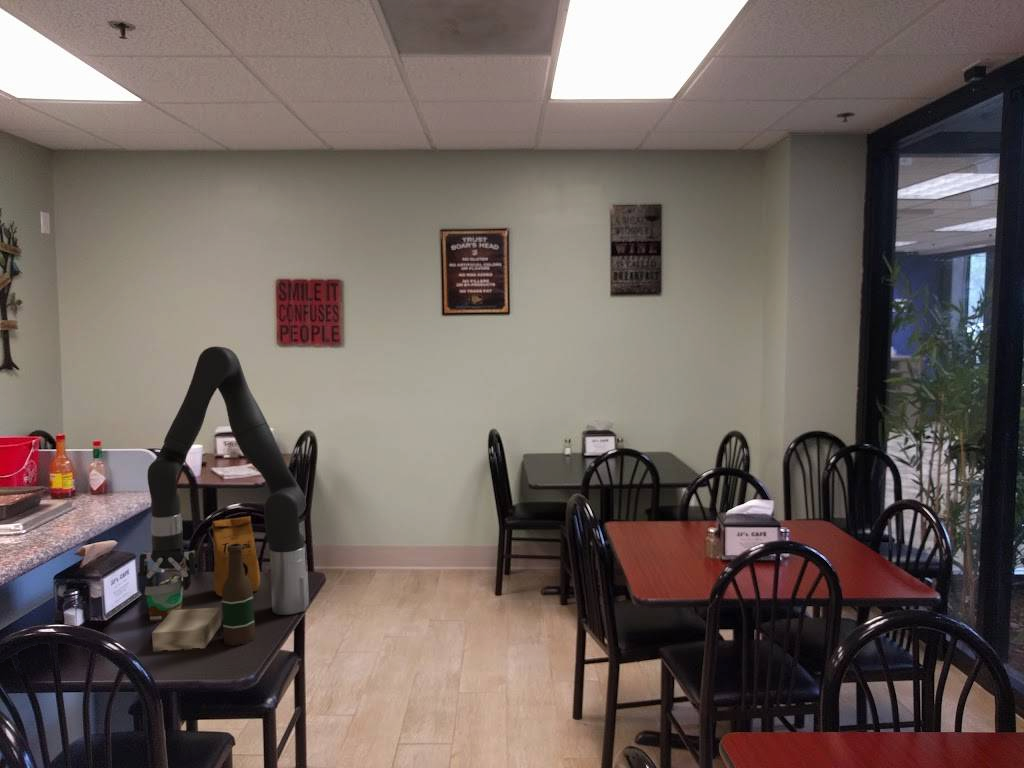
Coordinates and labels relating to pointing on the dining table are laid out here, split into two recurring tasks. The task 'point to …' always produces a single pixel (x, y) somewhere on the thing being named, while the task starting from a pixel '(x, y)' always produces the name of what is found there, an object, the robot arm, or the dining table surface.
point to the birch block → (186, 629)
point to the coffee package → (224, 536)
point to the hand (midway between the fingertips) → (169, 589)
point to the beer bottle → (237, 601)
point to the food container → (165, 597)
